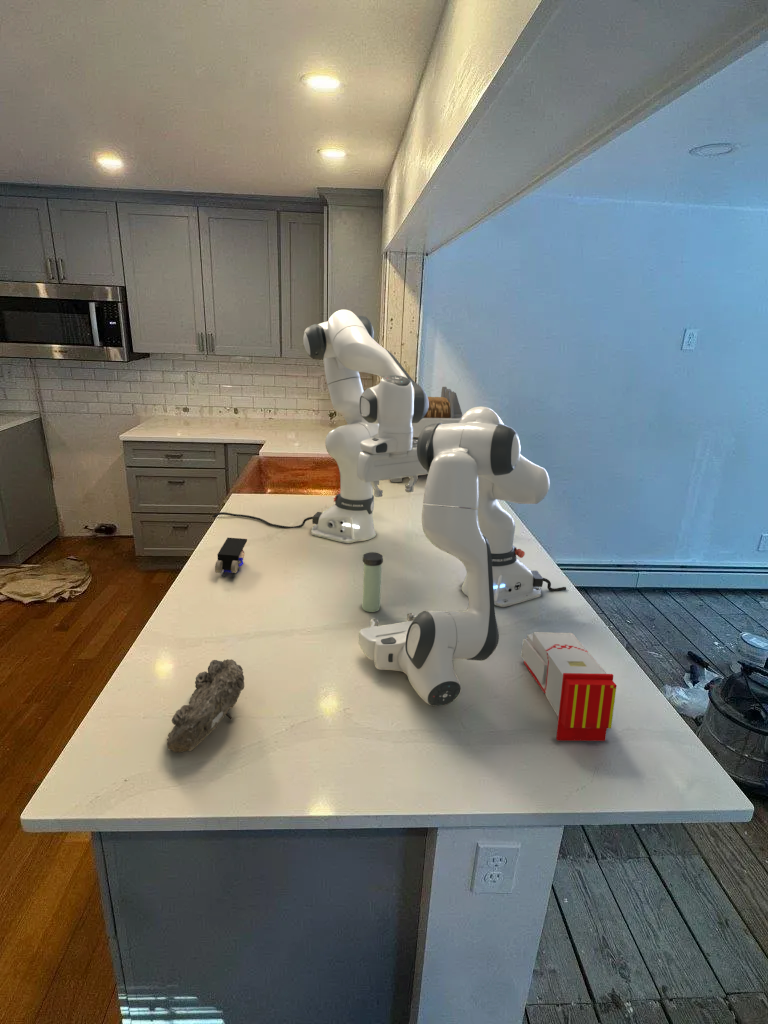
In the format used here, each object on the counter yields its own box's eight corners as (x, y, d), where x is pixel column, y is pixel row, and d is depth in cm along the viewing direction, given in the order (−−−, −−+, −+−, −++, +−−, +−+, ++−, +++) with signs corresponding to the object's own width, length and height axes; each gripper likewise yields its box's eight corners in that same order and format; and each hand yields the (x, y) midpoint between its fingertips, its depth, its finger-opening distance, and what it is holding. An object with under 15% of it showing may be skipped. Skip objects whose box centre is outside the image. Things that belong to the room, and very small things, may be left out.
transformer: (382, 463, 289) (386, 382, 275) (445, 464, 293) (451, 384, 279) (390, 482, 257) (394, 392, 243) (460, 483, 261) (468, 394, 247)
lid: (371, 567, 142) (371, 562, 142) (358, 560, 146) (358, 554, 145) (387, 562, 145) (387, 557, 145) (374, 555, 149) (374, 550, 148)
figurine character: (238, 584, 162) (249, 557, 175) (236, 562, 158) (247, 536, 172) (215, 584, 161) (227, 556, 175) (212, 561, 158) (225, 535, 171)
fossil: (192, 660, 117) (244, 628, 112) (224, 691, 120) (276, 661, 115) (142, 746, 98) (202, 712, 93) (182, 779, 101) (242, 748, 96)
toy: (568, 616, 131) (626, 681, 101) (562, 669, 133) (617, 748, 104) (515, 615, 130) (559, 680, 101) (511, 669, 133) (551, 747, 104)
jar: (369, 613, 147) (371, 563, 142) (358, 606, 150) (360, 556, 145) (383, 608, 150) (385, 558, 145) (372, 601, 153) (374, 552, 148)
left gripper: (422, 436, 151) (420, 486, 156) (354, 443, 141) (354, 496, 146) (436, 440, 146) (433, 492, 150) (366, 448, 136) (365, 502, 141)
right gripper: (457, 630, 126) (431, 601, 138) (370, 645, 119) (351, 613, 132) (455, 654, 128) (430, 623, 140) (369, 670, 122) (351, 636, 134)
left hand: (394, 494), depth 148 cm, fingers open, 8 cm apart
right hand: (391, 618), depth 136 cm, fingers open, 8 cm apart
